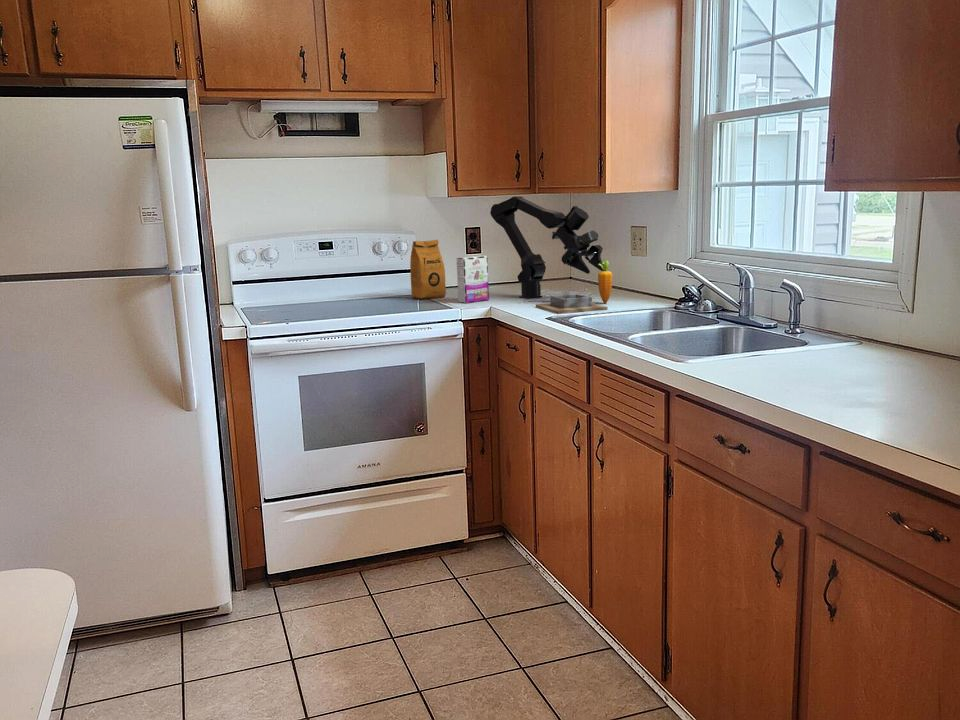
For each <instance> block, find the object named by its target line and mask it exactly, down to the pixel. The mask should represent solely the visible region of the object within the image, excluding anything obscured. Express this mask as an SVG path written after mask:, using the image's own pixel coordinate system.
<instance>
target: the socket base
mask: <svg viewBox="0 0 960 720" xmlns="http://www.w3.org/2000/svg"><path fill="white" fill-rule="evenodd" d="M549 299H550V300H549V301H550V302H548V303H547V302H546V303H536V304H535V308H537V309H541V310H544V311H548V312H551V313H554V314H558V315H562V314H574V313H585V312H586V313H587V312H596V311H597V312H598V311H607V310H608V306H606V305H601V304H598V303H595V302H593V297H592V296H588V295H583V294H580V293H573V294H572V293H571V294H560V295H550V296H549Z"/></svg>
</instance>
